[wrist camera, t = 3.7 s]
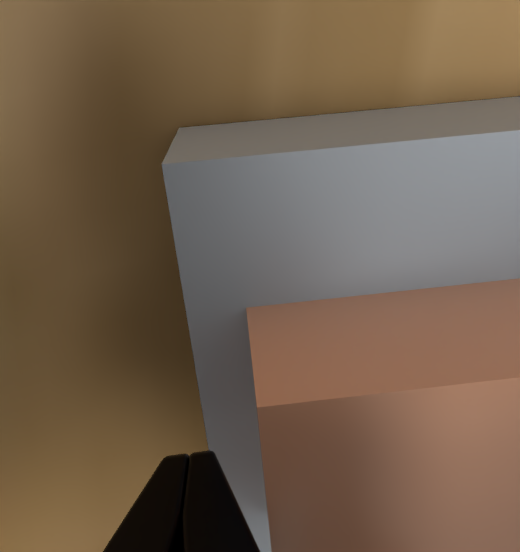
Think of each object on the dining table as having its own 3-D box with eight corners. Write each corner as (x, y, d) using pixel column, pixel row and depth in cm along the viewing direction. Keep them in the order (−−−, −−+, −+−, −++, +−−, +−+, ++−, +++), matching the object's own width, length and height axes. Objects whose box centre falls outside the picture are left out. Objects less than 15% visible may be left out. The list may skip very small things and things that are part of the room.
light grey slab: (618, 427, 15) (726, 529, 12) (229, 473, 14) (232, 592, 11) (727, 77, 11) (943, 89, 7) (179, 127, 10) (161, 164, 7)
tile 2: (498, 485, 10) (575, 605, 8) (267, 513, 10) (281, 644, 8) (536, 276, 8) (655, 361, 6) (246, 307, 8) (256, 407, 6)
